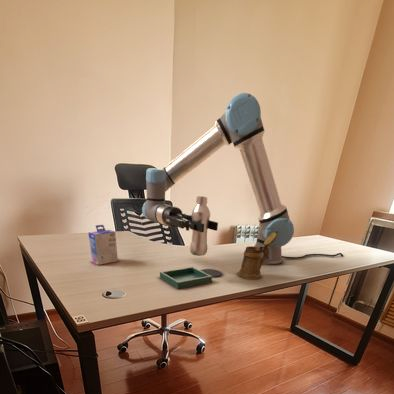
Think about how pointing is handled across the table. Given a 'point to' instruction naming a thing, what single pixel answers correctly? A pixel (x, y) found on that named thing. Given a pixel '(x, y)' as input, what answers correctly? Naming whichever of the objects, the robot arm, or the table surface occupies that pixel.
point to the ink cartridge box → (103, 246)
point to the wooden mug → (255, 258)
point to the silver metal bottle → (203, 216)
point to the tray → (185, 277)
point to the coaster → (212, 272)
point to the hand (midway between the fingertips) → (210, 227)
